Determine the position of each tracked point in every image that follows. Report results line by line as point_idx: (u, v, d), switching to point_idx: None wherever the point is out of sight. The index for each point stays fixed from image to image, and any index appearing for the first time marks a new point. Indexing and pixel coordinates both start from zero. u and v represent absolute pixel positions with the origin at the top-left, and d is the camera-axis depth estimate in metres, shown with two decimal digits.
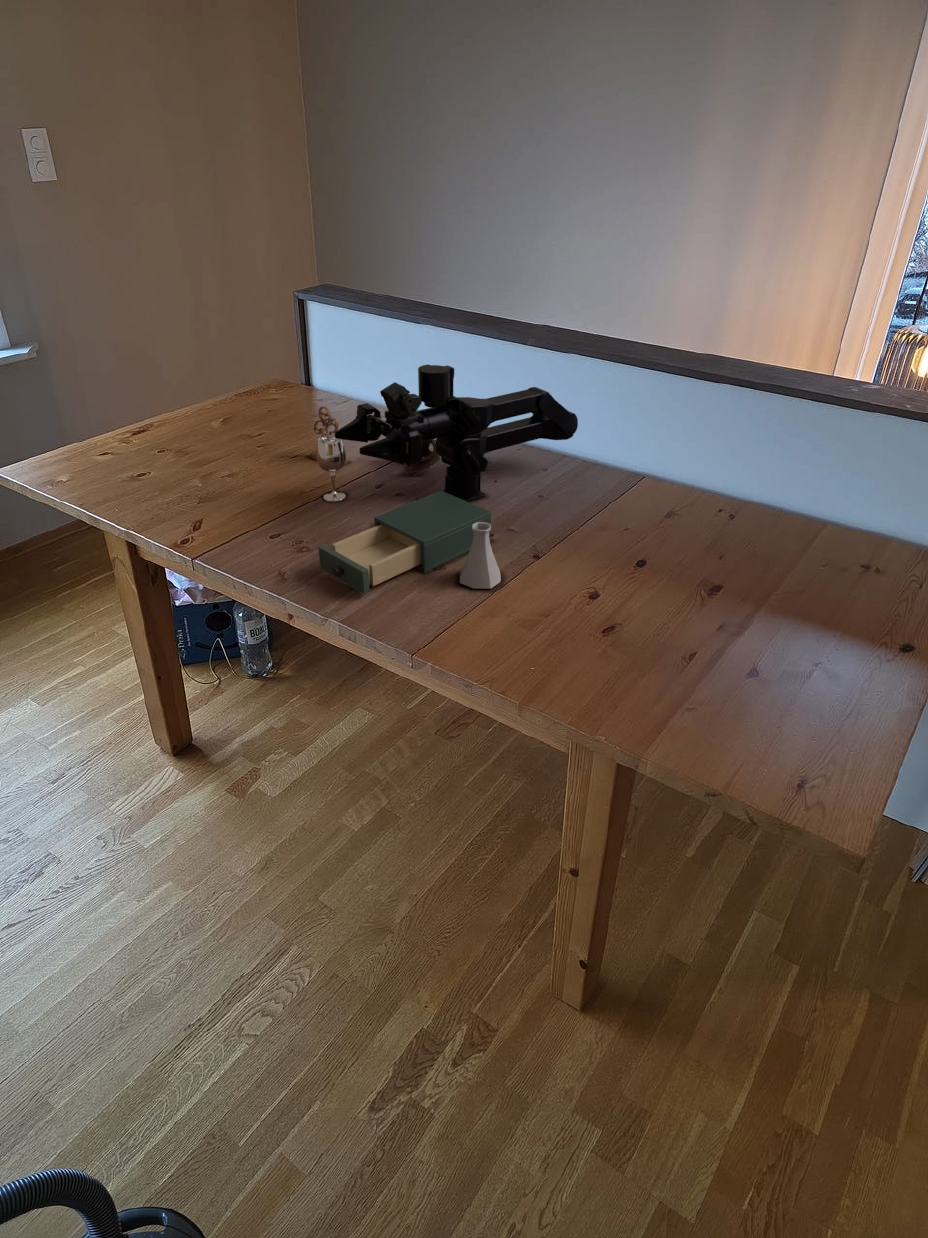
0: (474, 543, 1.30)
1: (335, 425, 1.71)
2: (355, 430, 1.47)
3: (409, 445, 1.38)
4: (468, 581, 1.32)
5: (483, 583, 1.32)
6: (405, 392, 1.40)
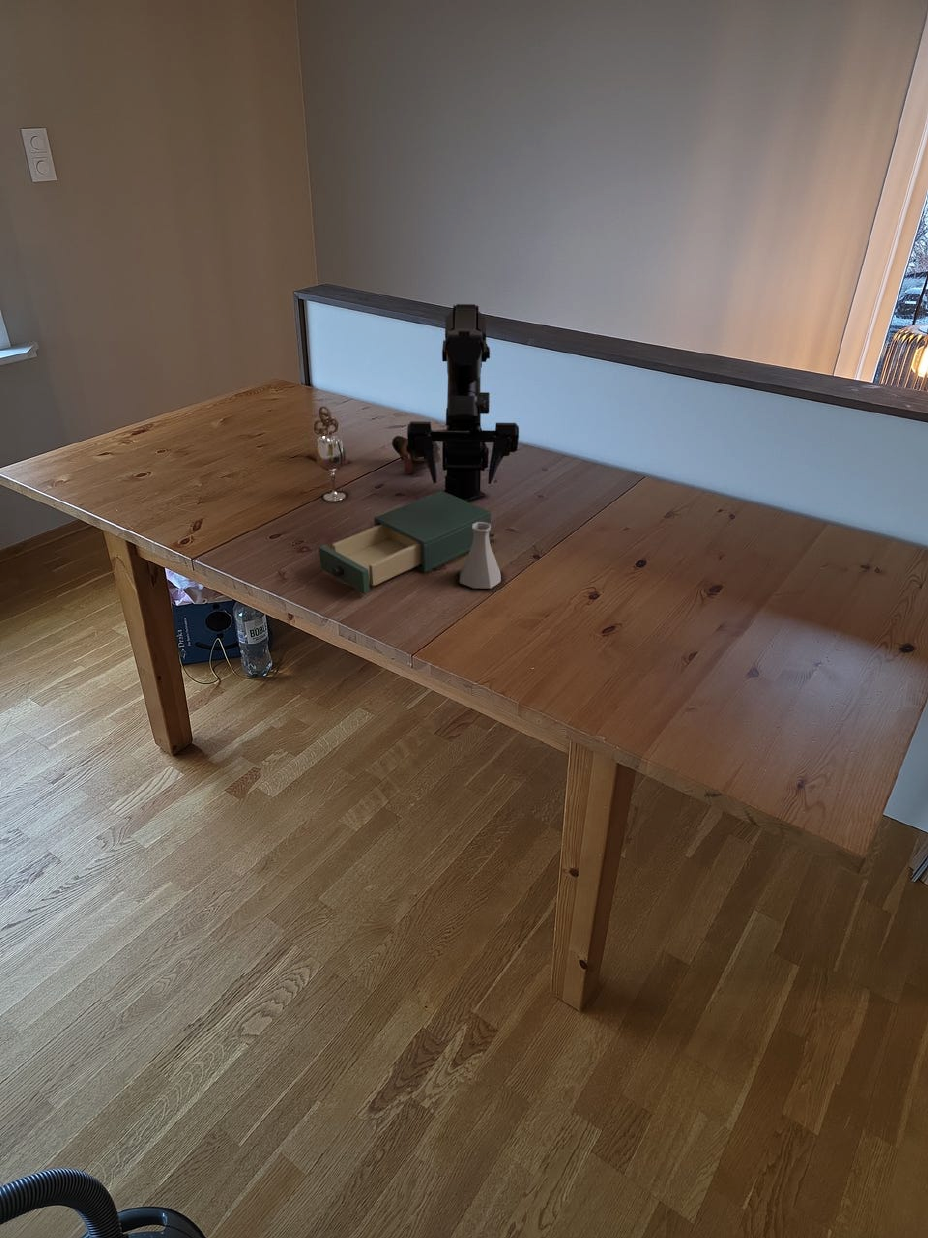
0: (474, 543, 1.30)
1: (335, 425, 1.71)
2: None
3: (516, 441, 1.35)
4: (468, 581, 1.32)
5: (483, 583, 1.32)
6: (481, 401, 1.29)
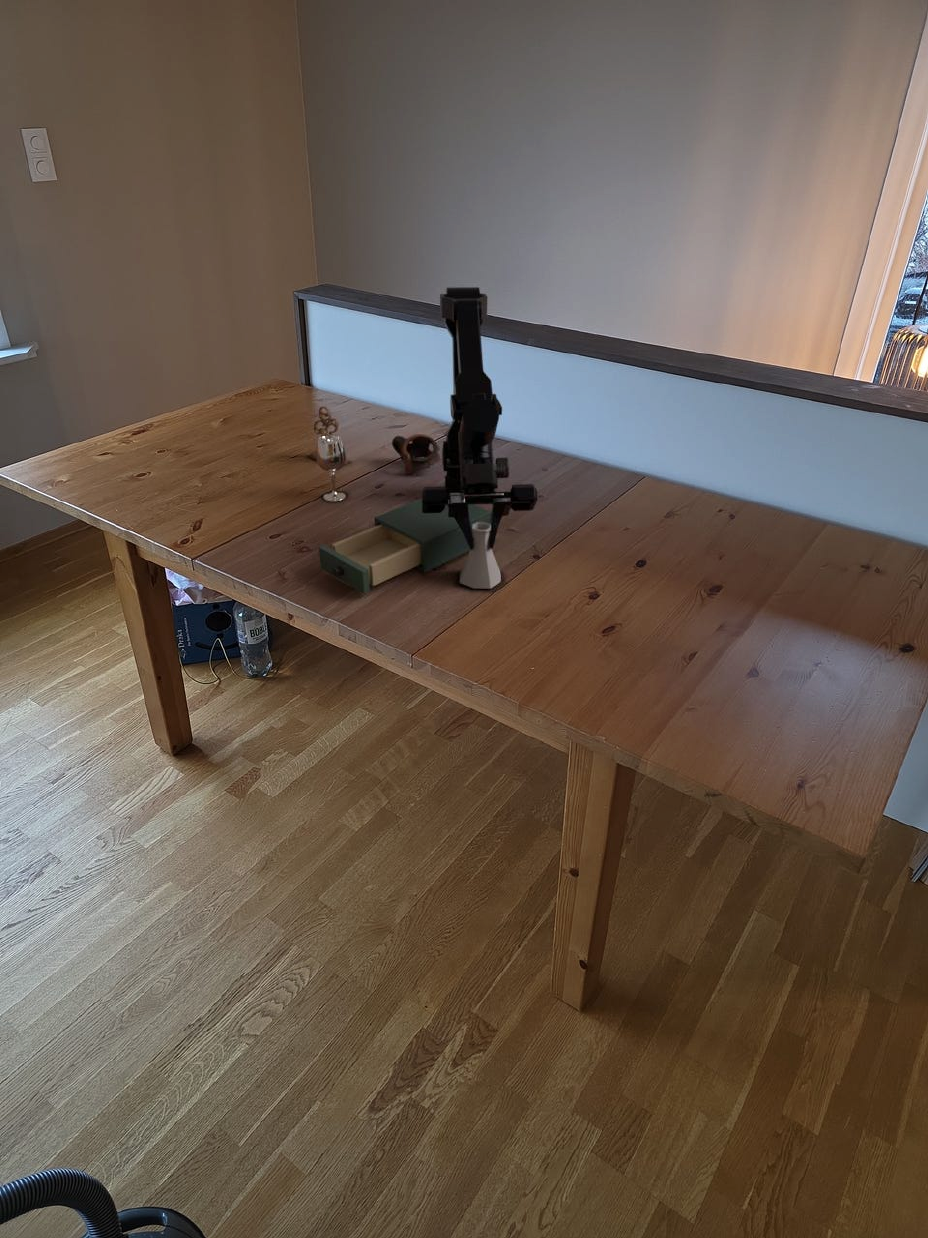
0: (474, 543, 1.30)
1: (335, 425, 1.71)
2: None
3: (534, 502, 1.31)
4: (468, 581, 1.32)
5: (483, 583, 1.32)
6: (501, 468, 1.25)
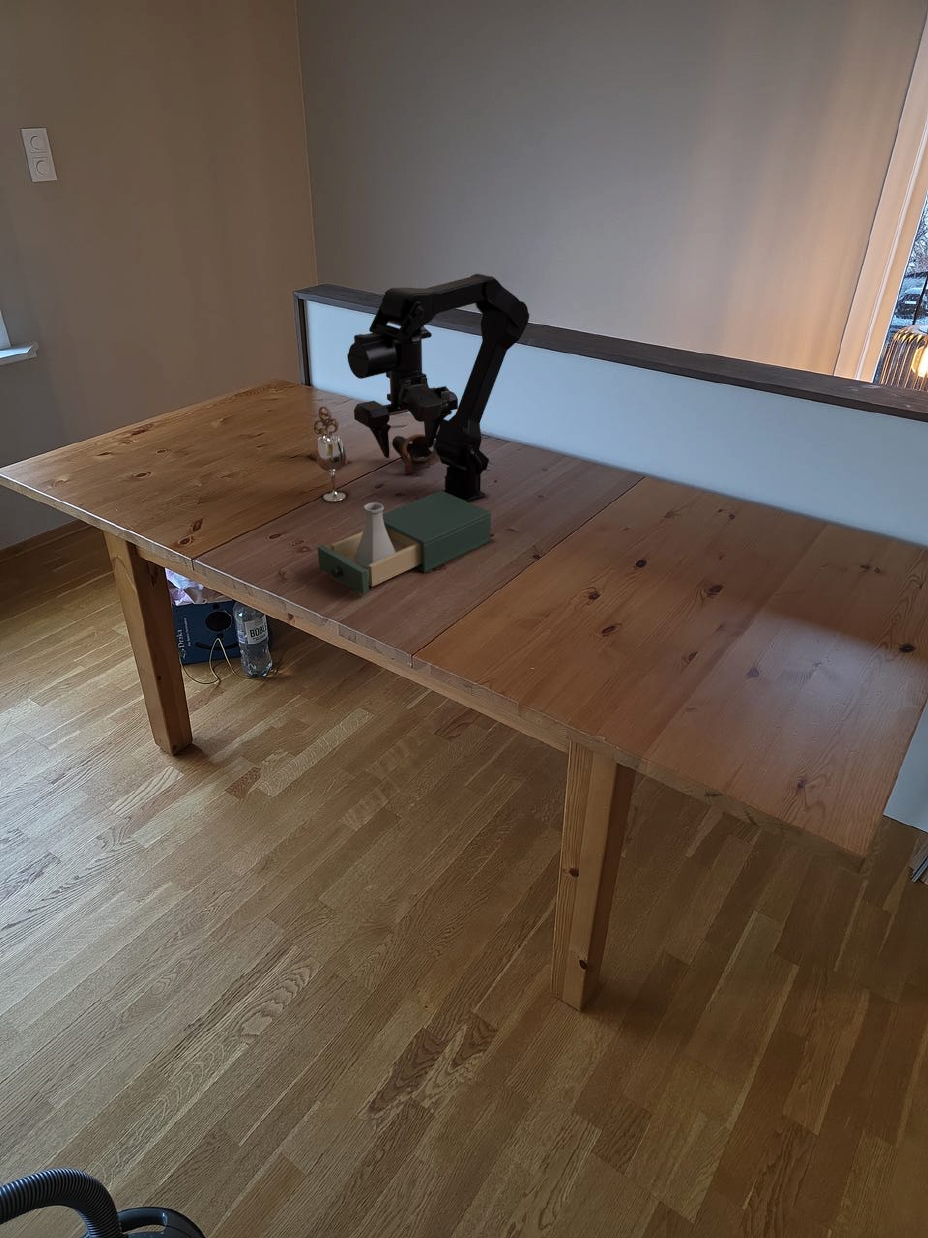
0: (365, 521, 1.32)
1: (335, 425, 1.71)
2: None
3: None
4: (358, 557, 1.35)
5: (367, 562, 1.33)
6: (445, 405, 1.38)
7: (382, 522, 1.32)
